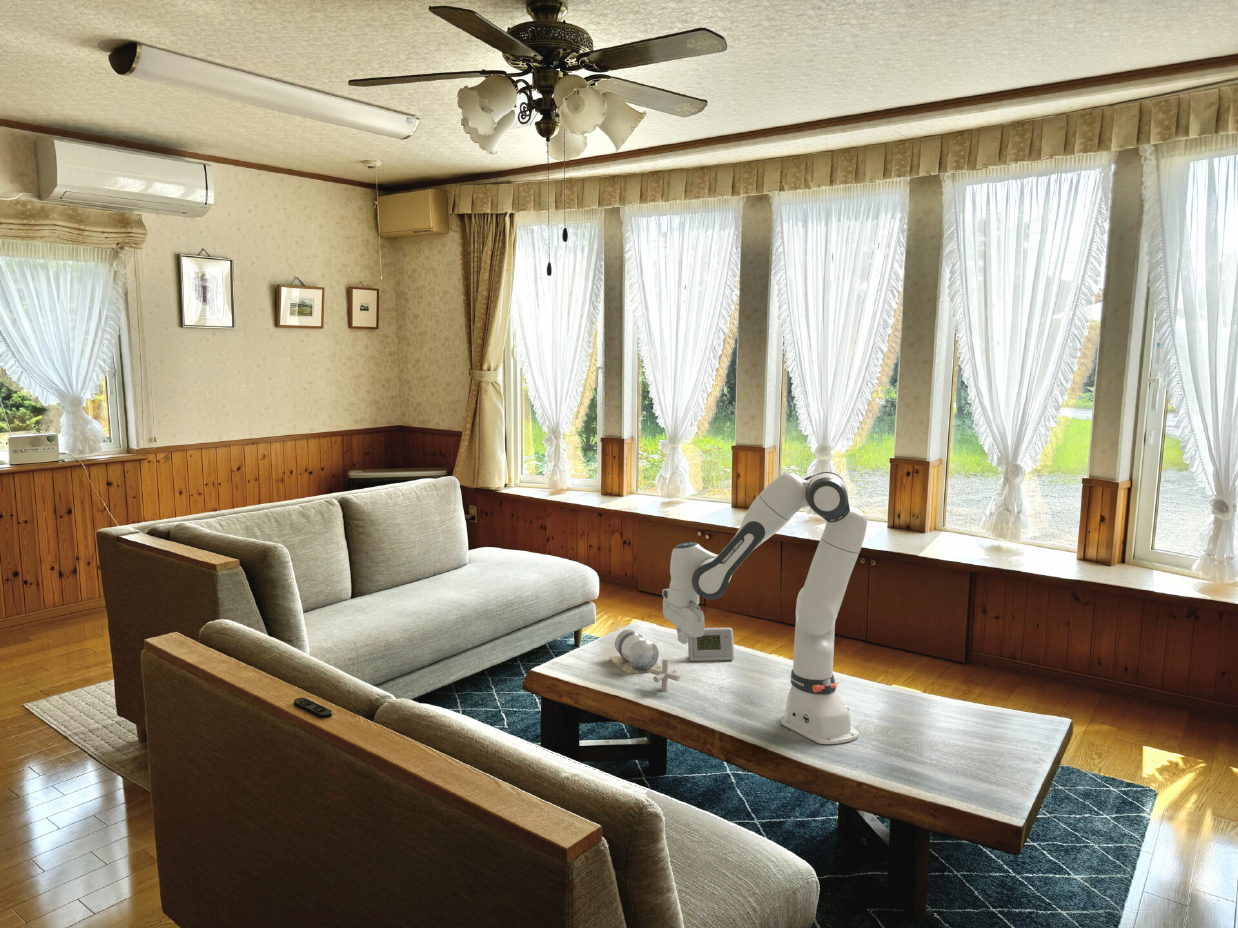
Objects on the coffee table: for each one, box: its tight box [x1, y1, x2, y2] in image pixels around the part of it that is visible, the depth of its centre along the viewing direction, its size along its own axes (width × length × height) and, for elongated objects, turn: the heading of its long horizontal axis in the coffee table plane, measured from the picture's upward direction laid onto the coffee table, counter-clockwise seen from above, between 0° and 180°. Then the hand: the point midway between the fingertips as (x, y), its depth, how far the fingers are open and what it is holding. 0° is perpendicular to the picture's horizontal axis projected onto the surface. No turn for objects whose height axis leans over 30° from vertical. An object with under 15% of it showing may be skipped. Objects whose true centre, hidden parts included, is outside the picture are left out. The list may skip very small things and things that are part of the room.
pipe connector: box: [649, 657, 681, 692], centre depth 260 cm, size 10×10×10 cm
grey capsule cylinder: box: [608, 629, 662, 676], centre depth 280 cm, size 14×13×11 cm
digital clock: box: [687, 626, 735, 663], centre depth 288 cm, size 16×9×11 cm, turn 87°
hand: (682, 642), depth 248 cm, fingers closed
